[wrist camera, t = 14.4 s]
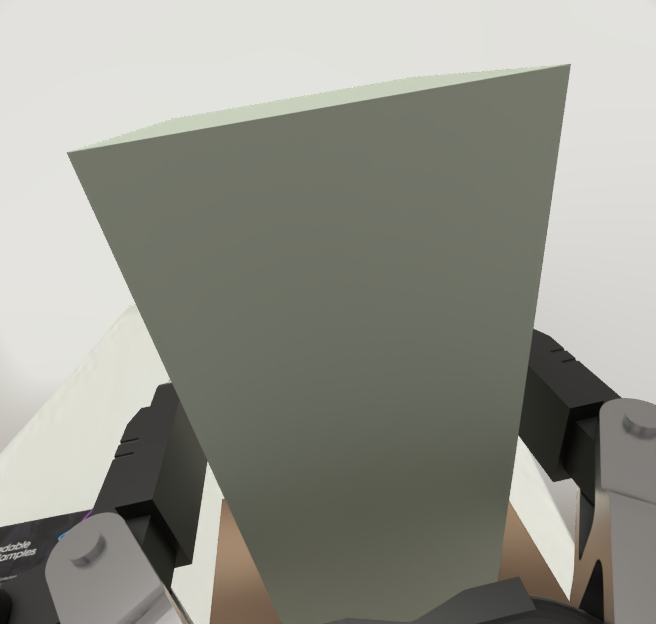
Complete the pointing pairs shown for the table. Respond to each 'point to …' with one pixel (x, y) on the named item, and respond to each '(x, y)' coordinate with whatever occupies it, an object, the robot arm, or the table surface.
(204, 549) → the table surface
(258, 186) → the box
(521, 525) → the riser
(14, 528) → the box
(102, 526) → the robot arm
